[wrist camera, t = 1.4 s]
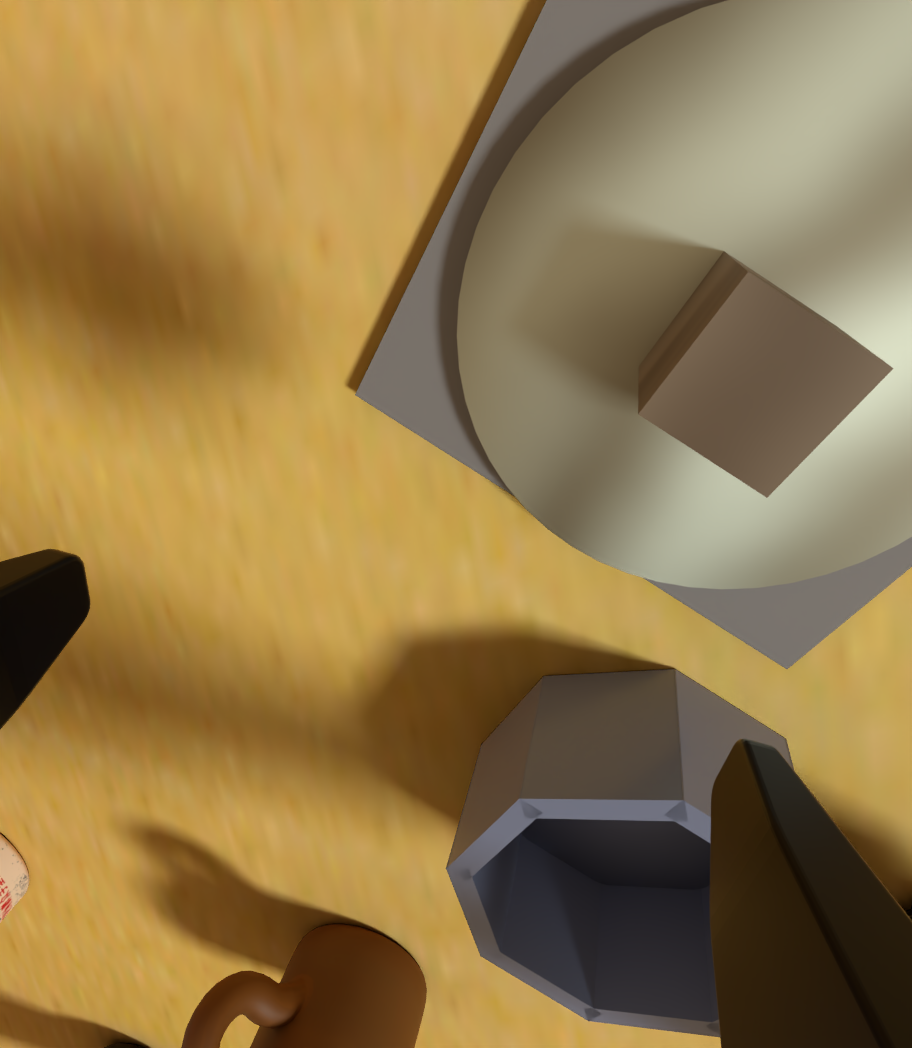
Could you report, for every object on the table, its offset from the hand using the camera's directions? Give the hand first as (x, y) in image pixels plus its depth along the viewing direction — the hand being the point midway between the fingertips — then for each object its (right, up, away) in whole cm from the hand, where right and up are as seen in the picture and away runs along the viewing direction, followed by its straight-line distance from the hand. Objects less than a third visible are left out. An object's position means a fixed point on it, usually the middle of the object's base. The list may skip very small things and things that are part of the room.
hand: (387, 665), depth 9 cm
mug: (-5, -20, +27) cm, 34 cm away
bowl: (+8, -8, +16) cm, 20 cm away
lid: (+8, +7, +8) cm, 13 cm away
